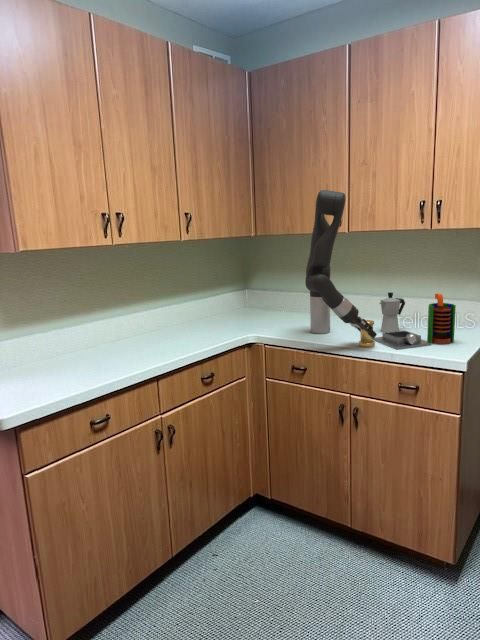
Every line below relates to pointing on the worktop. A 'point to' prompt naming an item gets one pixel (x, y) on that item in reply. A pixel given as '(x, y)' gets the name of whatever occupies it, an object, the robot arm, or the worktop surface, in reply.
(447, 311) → the motor
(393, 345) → the coupling base
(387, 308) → the coffee maker
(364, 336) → the gold tall waisted piece
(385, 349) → the worktop surface
